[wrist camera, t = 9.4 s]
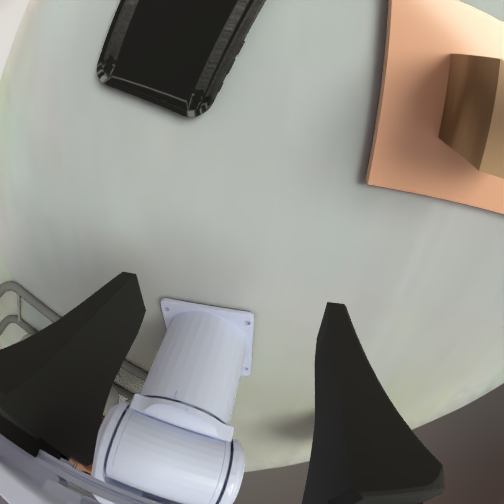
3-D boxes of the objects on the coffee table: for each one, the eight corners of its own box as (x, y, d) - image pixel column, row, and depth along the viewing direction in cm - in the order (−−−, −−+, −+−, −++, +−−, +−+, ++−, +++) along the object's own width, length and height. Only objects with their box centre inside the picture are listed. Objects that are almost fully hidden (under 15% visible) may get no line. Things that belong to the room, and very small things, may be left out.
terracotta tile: (514, 213, 16) (519, 218, 15) (365, 179, 17) (367, 184, 16) (550, 55, 9) (557, 57, 8) (388, -19, 10) (392, -22, 9)
